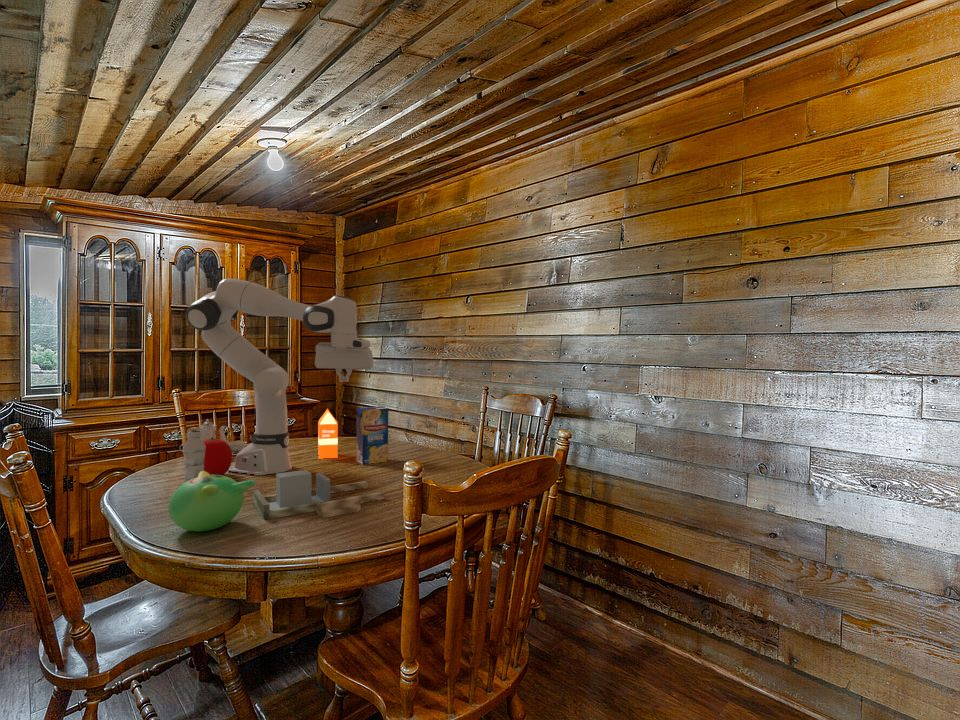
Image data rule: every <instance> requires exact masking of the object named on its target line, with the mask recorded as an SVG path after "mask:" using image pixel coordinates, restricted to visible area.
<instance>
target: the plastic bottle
mask: <svg viewBox="0 0 960 720" xmlns="http://www.w3.org/2000/svg"><path fill="white" fill-rule="evenodd" d="M187 431H188V430H187ZM200 437H201V431H200V430H199V429H198V430H197V429H193V430H190V431H188V436H187V438H188V440H186V441H185V442H186V443H185V444H184V446H183V445H182V446H183V447H182V451H183V452H182V453H183V454H182V455H183V459H184V480H183V483H182V484H184V483H185V482H187V481H189V480H191V479H193V478H196V477H198V474H199V473H200V472H201V471H204V457H205V450H206V446H205V444H204V442H203V441H202V440H201V439H200ZM187 438H186V439H187Z"/></svg>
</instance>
